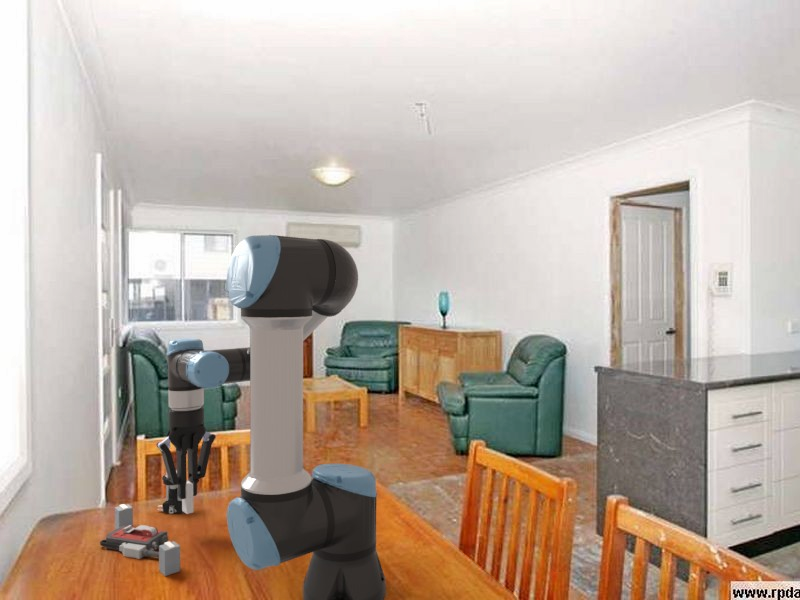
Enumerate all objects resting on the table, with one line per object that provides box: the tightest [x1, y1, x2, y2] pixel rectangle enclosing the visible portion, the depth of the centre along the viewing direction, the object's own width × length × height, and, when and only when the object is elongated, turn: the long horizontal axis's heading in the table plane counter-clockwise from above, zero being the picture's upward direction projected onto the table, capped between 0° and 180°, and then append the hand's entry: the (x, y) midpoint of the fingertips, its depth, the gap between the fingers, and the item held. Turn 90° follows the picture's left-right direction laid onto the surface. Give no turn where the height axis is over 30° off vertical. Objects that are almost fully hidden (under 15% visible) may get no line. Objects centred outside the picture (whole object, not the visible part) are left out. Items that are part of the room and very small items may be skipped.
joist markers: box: [114, 503, 181, 577], centre depth 121 cm, size 30×3×5 cm, turn 44°
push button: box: [157, 469, 184, 515], centre depth 141 cm, size 7×5×10 cm
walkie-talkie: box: [99, 524, 169, 560], centre depth 121 cm, size 9×4×20 cm
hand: (187, 511), depth 127 cm, fingers closed
